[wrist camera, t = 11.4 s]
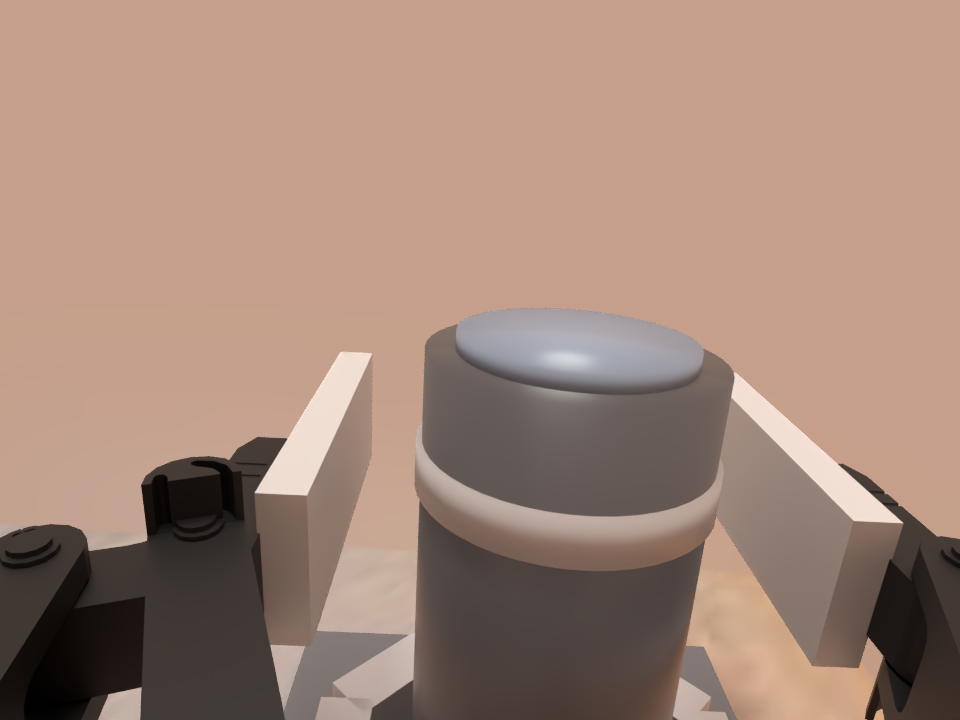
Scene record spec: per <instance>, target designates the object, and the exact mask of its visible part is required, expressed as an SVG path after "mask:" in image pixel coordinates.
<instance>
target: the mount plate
mask: <svg viewBox="0 0 960 720" xmlns="http://www.w3.org/2000/svg"><path fill="white" fill-rule="evenodd" d="M414 644H415V632H413V633H411V634H410V635H398V634H374V633H349V632H324V631H316V633H315V637H314V640H313V643H312V646H305V649H304V652H303V655H302V658H301V661H300V664H299V667H298V670H297V673H296V676H295V679H294V682H293V685H292V688H291V692H290V695H289V698H288V701H287V704H286V707H285V710H284V717H285V720H412V701H413V673H414ZM672 720H737V719H736V717H735V715H734V713H733V710H732V708H731V706H730V704H729V702H728V699H727V697H726V695H725V693H724V691H723V688H722V686H721V684H720V682H719V680H718V677H717V675H716V673H715V671H714V668H713V666H712V664H711V662H710V660H709V657H708V655H707V653H706V651H705V649H704V647H696V646H686V647H685V652H684V658H683V663H682V669H681V674H680V679H679V685H678V690H677V696H676V701H675V707H674V712H673V718H672Z"/></svg>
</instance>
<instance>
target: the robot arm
mask: <svg viewBox="0 0 960 720" xmlns="http://www.w3.org/2000/svg"><path fill="white" fill-rule="evenodd" d="M734 377H735V379H734V385H733V390H732V396H731V401H730V407H729V412H728V417H727V423H726V428H725V434H724V439H723V445H722V450H721V456H720V458H721V461H722V463H723V468H724V476H723V482H722V487H721V492H720V498H719V503H718V508H717V514H716V516H717V518H718V519H719V521H720V523H721V524H722V526H723V527H724V529H725V530H726V532H727V534H728V535H729V537H730V538H731V540H732V541H733V543H734V544H735V546H736V547H737V549H738V551H739V552H740V554H741V555H742V557H743V558H744V560H745V562H746V563H747V565H748V566H749V568H750V569H751V571H752V572H753V574H754V576H755V577H756V579H757V580H758V582H759V583H760V585H761V586H762V588H763V590H764V591H765V593H766V594H767V596H768V597H769V599H770V600H771V602H772V604H773V605H774V607H775V608H776V610H777V611H778V613H779V614H780V616H781V618H782V619H783V621H784V622H785V624H786V625H787V627H788V628H789V630H790V632H791V633H792V635H793V636H794V638H795V639H796V641H797V642H798V644H799V646H800V647H801V649H802V650H803V652H804V653H805V655H806V656H807V658H808V660H809V661H810V663H811V664H812V666H822V667H847V668H859V665H860V661H861V658H862V655H863V651H864V648H865V645H866V642H867V639H868V637H869V638H870V640H871V641H872V642H873V643H874V644H875V646H876V647H877V648H878V650H879V651H880V652H881V653H882V655H883V656H884V657H883V660H882V663H881V666H880V669H879V672H878V675H877V678H876V681H875V684H874V687H873V690H872V693H871V696H870V699H869V703H868V706H867V709H866V715H865V719H867V720H873V719H874V716H875V713H876V711H878V710H880V709H883V714H884V719H885V720H960V539H955V538H949V537H943V536H941V537H937V536H936V535H934V534H933V533H932V532H931V531H930V530H929V529H927V528H926V527H925V526H924V525H923V524H922V523H920V522H919V521H918V520H917V519H916V518H915V517H913V516H912V515H911V514H910V513H909V512H907V511H906V510H905V509H904V508H903V507H902V506H898V503H897V502H896V501H895V500H894V499H893V498H891V497H890V496H889V495H888V494H885V493H884V491H883V490H882V489H881V488H880V487H879V486H877V485H876V484H875V483H874V482H873V481H872V480H871V479H869V478H868V477H867V476H865V475H863V474H861V473H859V472H857V471H855V470H853V469H852V468H849V467H848V466H846V465H844V464H837V463H836V462H835V461H833V460H832V459H831V458H830V457H829V456H828V455H827V454H826V453H824V451H822V450H821V449H820V448H819V447H818V446H817V445H816V444H815V443H813V442H812V441H811V440H810V439H809V438H808V437H807V436H806V435H804V434H803V433H802V432H801V431H800V430H799V429H798V428H797V427H796V426H795V425H793V424H792V423H791V422H790V421H789V420H788V419H787V418H786V417H784V416H783V415H782V414H781V413H780V412H779V411H778V410H777V409H776V408H774V407H773V406H772V405H771V404H770V403H769V402H768V401H767V400H766V399H764V398H763V397H762V396H761V395H760V394H759V393H758V392H757V391H756V390H754V389H753V388H752V387H751V386H750V385H749V384H748V383H747V382H745V381H744V380H743V379H742V378H741V377H740V376H739V375H738V374H737V373H734ZM371 455H372V353H356V352H340V354H339V356H338V357H337V359H336V360H335V362H334V364H333V366H332V367H331V369H330V370H329V372H328V374H327V375H326V377H325V378H324V380H323V382H322V383H321V385H320V387H319V388H318V390H317V392H316V393H315V395H314V397H313V398H312V400H311V401H310V403H309V405H308V406H307V408H306V410H305V411H304V413H303V415H302V416H301V418H300V419H299V421H298V423H297V424H296V426H295V428H294V429H293V431H292V433H291V434H290V436H289V437H288V439H286V438H265V437H257V438H255V439H253V440H252V441H250V442H248V443H247V444H245V445H243V446H241V447H240V448H238V449H237V450H236V452H235V453H234V454H233V456H232V457H231V459H230V460H227V459H225V458H218V457H210V456H207V457H190V458H186V459H181V460H176V461H172V462H170V463H167V464H165V465H162V466H160V467H157V468H156V469H155V470H153V471H152V472H151V473H150V474H148V475H146V477H145V478H144V481H143V483H142V485H141V487H142V495H143V504H144V512H145V519H146V528H147V541H145V542H142V543H138V544H133V545H128V546H122V547H115V548H108V549H101V550H94V551H89V550H88V544H87V538H86V536H85V535H84V533H83V532H82V530H80V529H77V528H75V527H72V526H69V525H55V524H50V525H42V526H31V527H27V528H23V530H21V529H19V530H17V531H14V532H11V533H9V534H7V535H5V536H3V537H1V538H0V720H98V718H99V716H100V713H101V711H102V709H103V706H104V704H105V702H106V699H107V697H108V694H112V693H116V692H121V691H126V690H130V689H135V688H140V687H142V691H141V718H140V720H285V717H284V712H283V707H282V702H281V697H280V692H279V687H278V682H277V677H276V672H275V667H274V662H273V657H272V652H271V647H270V645H294V646H312V643H313V640H314V637H315V633H316V630H317V627H318V624H319V621H320V618H321V614H322V611H323V608H324V605H325V602H326V599H327V595H328V592H329V589H330V586H331V583H332V580H333V576H334V573H335V570H336V567H337V564H338V561H339V557H340V554H341V551H342V548H343V545H344V541H345V538H346V535H347V532H348V529H349V525H350V522H351V519H352V516H353V513H354V510H355V507H356V503H357V500H358V497H359V494H360V491H361V487H362V485H363V481H364V478H365V475H366V472H367V469H368V466H369V461H370V459H371Z"/></svg>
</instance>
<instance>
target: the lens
mask: <svg viewBox="0 0 960 720" xmlns="http://www.w3.org/2000/svg"><path fill="white" fill-rule="evenodd" d="M734 379H735V377H734V372H733V370H732V369H731V368H730V366H729V365H728V364H727V363H726V362H725V361H724V360H722V359H721V358H719V357H718V356H716V355H715V354H713V353H711V352H709V351H707V350H705V349H703V348H702V346H701V345H700V344H699V343H698V342H697V341H695V340H694V339H692V338H691V337H689V336H687V335H685V334H683V333H681V332H678V331H676V330H674V329H671V328H668V327H665V326H662V325H659V324H655V323H652V322H648V321H644V320H640V319H635V318H630V317H625V316H620V315H614V314H607V313H601V312H592V311H583V310H572V309H555V308H522V309H521V308H520V309H505V310H497V311H490V312H485V313H481V314H477V315H473V316H471V317H468V318H466V319H464V320H463V321H461V322H460V323H459V324H457V325H454V326H451V327H448V328H445V329H443V330H440V331H438V332H437V333H435V334H433V335H432V336H431V337H430V338H429V339H428V340H427V342H426V345H425V363H424V393H423V421H422V423H421V424H420V426H419V427H418V430H417V434H416V454H415V489H416V492H417V496H418V497H419V499H420V504H419V533H418V560H417V588H416V616H415V644H414V673H413V701H412V720H672V718H673V712H674V707H675V701H676V696H677V690H678V685H679V679H680V674H681V669H682V663H683V658H684V652H685V647H686V641H687V636H688V630H689V625H690V619H691V614H692V609H693V603H694V598H695V592H696V587H697V581H698V576H699V570H700V564H701V559H702V554H703V548H704V543H705V539H706V538H707V537H708V536H709V534H710V533H711V531H712V529H713V527H714V523H715V519H716V514H717V508H718V503H719V498H720V492H721V487H722V482H723V476H724V468H723V463H722V461H721V458H720V456H721V450H722V445H723V439H724V434H725V428H726V423H727V417H728V412H729V407H730V401H731V396H732V390H733V385H734Z"/></svg>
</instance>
